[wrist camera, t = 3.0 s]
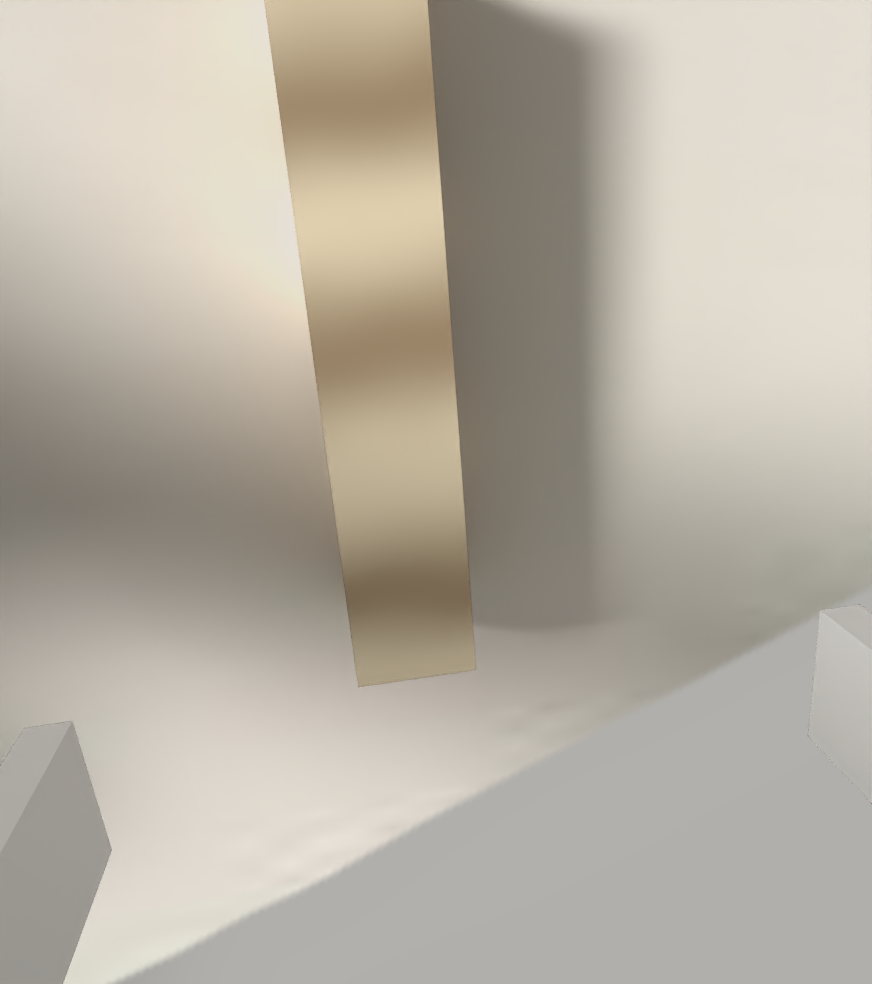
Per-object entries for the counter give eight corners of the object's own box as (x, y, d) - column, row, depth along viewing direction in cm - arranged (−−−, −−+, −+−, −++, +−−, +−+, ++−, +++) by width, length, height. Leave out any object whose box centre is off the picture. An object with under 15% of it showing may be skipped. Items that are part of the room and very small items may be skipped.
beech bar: (449, 590, 31) (476, 670, 25) (353, 603, 30) (358, 687, 25) (397, -35, 23) (418, -121, 18) (268, -29, 23) (248, -114, 17)
